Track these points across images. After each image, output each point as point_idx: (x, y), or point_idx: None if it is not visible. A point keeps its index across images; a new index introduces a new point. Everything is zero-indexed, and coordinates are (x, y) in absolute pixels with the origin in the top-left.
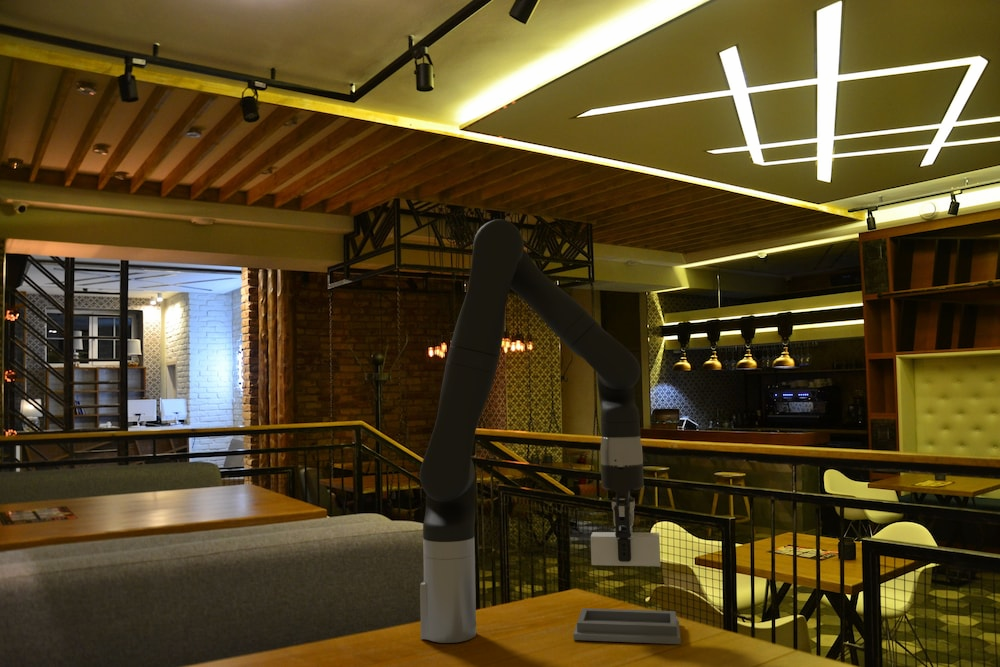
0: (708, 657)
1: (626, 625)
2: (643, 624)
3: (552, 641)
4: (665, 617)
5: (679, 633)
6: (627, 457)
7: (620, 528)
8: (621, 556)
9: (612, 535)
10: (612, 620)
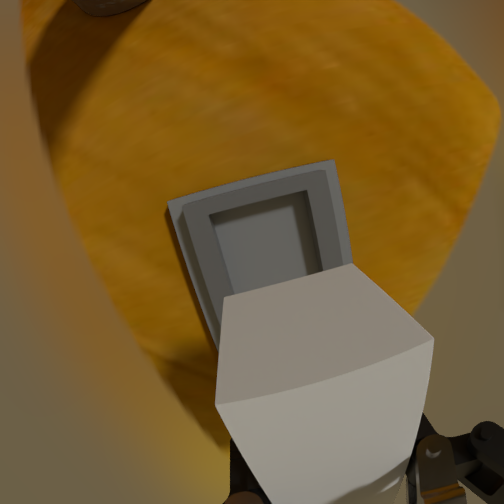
0: (199, 421)
1: (219, 321)
2: None
3: (151, 156)
4: None
5: None
6: None
7: (416, 474)
8: (232, 442)
9: (303, 478)
10: (310, 252)
